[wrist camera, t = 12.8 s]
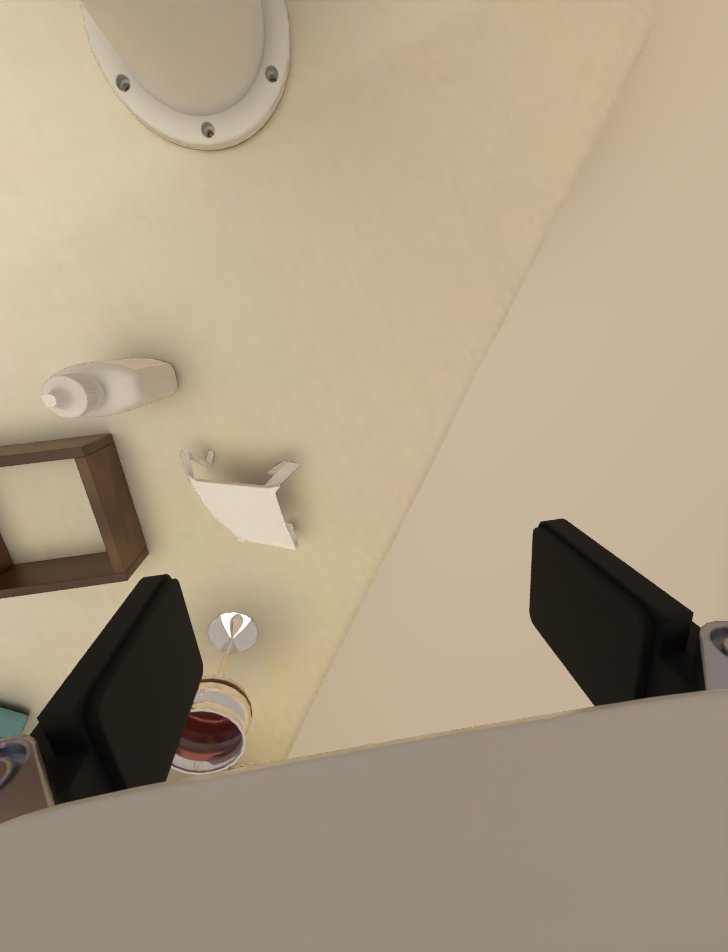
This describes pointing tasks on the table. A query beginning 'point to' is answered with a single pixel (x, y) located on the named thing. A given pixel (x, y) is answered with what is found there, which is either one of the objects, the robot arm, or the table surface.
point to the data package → (11, 722)
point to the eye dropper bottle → (108, 387)
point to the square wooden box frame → (109, 510)
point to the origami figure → (246, 504)
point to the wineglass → (218, 706)
